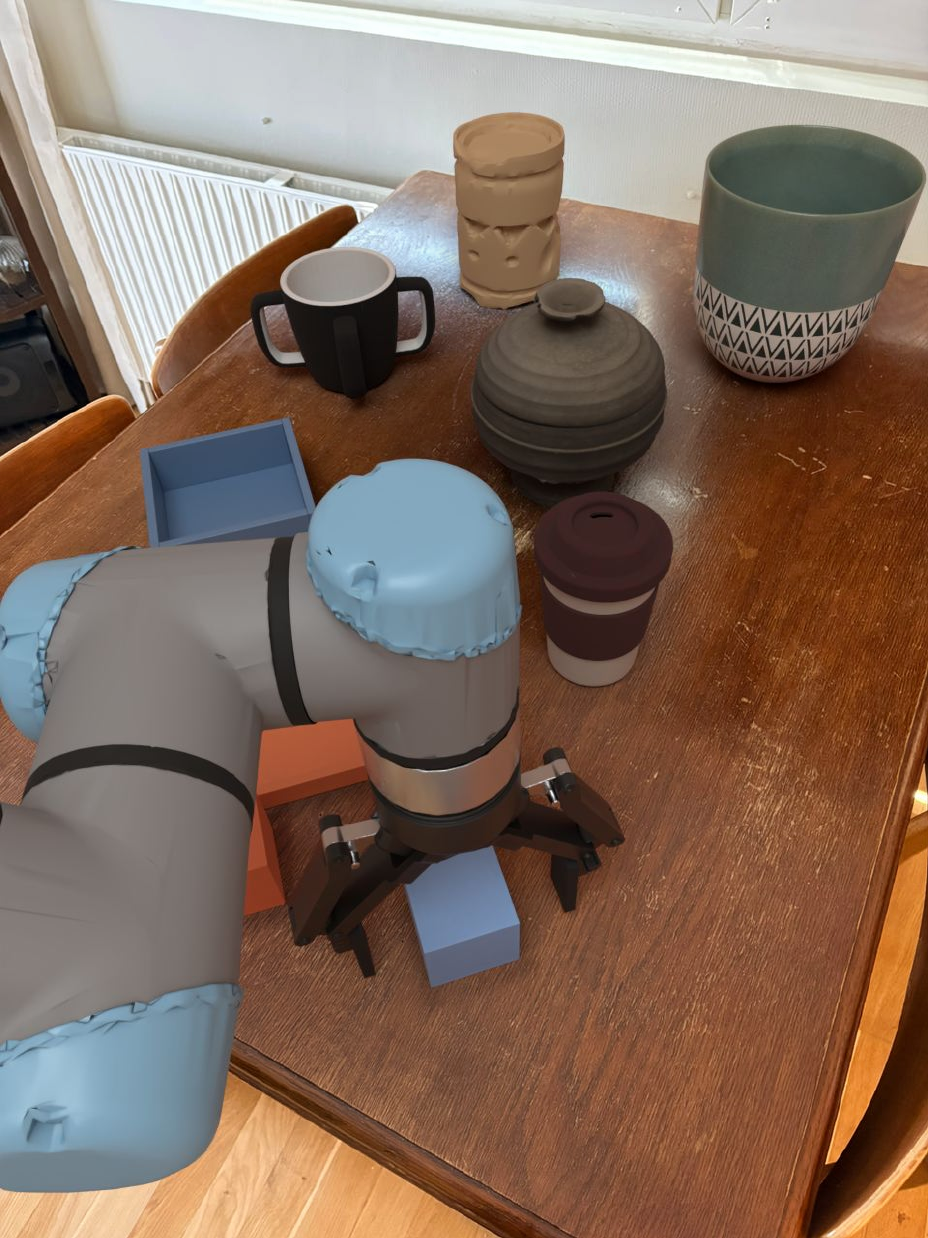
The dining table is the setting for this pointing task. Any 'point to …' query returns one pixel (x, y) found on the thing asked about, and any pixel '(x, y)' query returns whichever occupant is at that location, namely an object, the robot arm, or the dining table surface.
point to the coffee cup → (599, 582)
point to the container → (508, 205)
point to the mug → (344, 317)
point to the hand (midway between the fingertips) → (465, 924)
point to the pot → (568, 392)
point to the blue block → (464, 916)
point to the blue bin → (227, 487)
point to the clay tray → (308, 761)
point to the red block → (262, 866)
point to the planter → (798, 244)
